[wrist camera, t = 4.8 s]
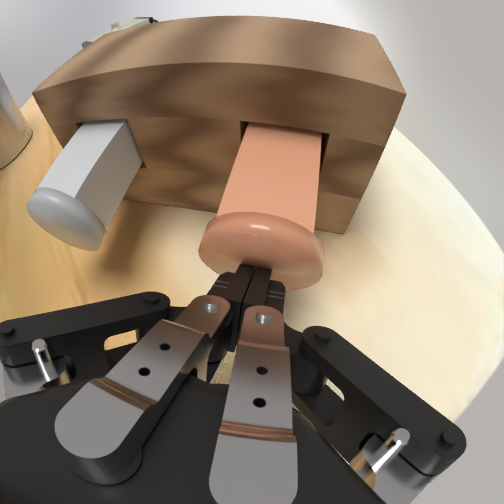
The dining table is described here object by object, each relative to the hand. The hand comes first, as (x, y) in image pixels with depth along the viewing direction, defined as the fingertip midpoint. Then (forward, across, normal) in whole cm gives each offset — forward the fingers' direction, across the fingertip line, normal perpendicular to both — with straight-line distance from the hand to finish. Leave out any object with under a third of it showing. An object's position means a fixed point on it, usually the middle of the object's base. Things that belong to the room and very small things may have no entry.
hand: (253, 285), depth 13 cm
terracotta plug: (+6, 0, -3) cm, 6 cm away
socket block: (+13, +6, -4) cm, 15 cm away
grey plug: (+6, +12, -3) cm, 13 cm away
